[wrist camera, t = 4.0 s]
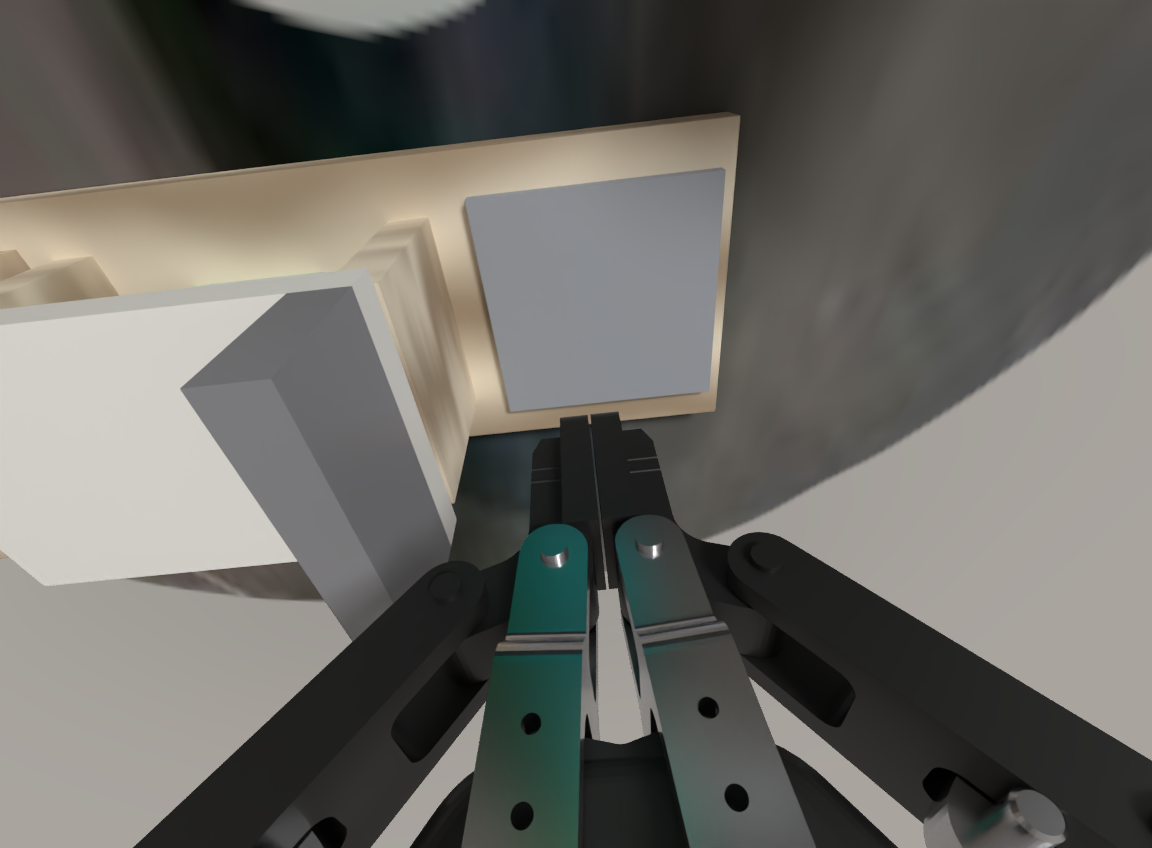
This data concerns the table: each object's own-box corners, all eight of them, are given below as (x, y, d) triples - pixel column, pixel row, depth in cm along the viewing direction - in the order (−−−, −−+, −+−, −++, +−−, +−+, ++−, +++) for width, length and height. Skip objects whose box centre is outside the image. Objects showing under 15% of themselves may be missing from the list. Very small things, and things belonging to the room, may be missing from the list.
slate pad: (466, 196, 18) (464, 200, 17) (721, 167, 17) (725, 169, 17) (511, 405, 23) (510, 411, 22) (706, 385, 23) (709, 391, 22)
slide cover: (-181, 329, 12) (-549, 467, 8) (367, 267, 12) (271, 378, 8) (71, 557, 18) (-75, 710, 14) (456, 519, 17) (427, 664, 13)
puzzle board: (-340, 238, 19) (-811, 334, 12) (727, 111, 18) (828, 143, 11) (-64, 474, 26) (-267, 612, 19) (707, 393, 25) (761, 511, 18)
